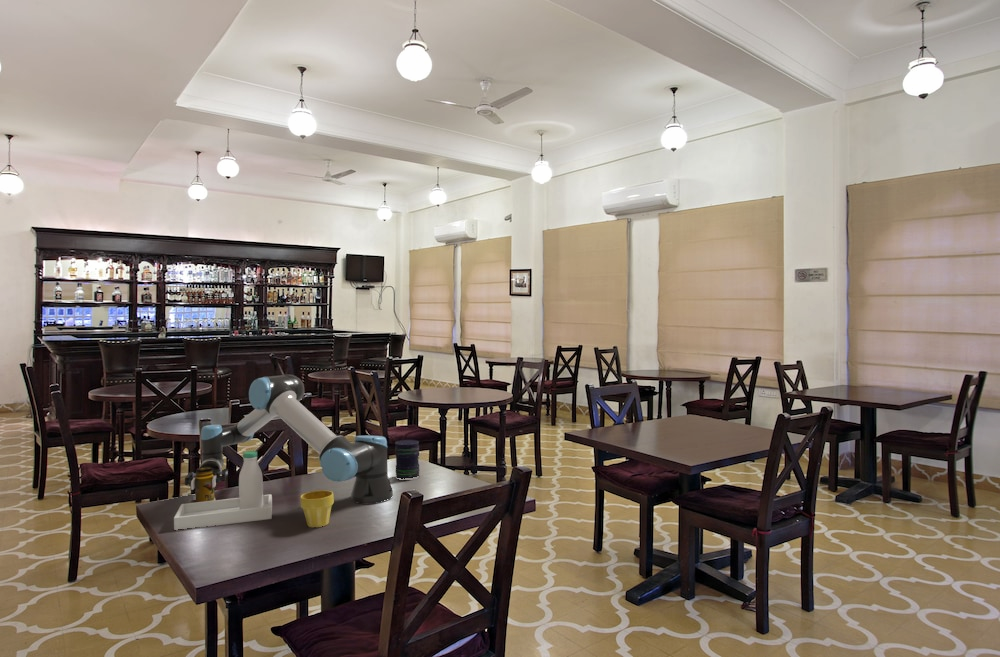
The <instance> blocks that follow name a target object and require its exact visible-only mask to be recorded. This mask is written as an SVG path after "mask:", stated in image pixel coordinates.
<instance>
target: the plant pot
mask: <svg viewBox="0 0 1000 657" xmlns="http://www.w3.org/2000/svg"><path fill="white" fill-rule="evenodd" d="M334 499H335V495H334V492H333V491H331V490H325V489H323V490H322V489H320V490H319V489H318V490H313V491H309V492H305V493H302V494H301V495H300V507H301V508H302V509H303V513H304V516H305V520H306V524H307V526H308V527H309V528H314V527H316V528H321V527H322V526H323V527H325V526H327V525H328V524H329V523H330V516H331V512H332V511H331V510H332V507H333V504H334V502H335V500H334Z"/></svg>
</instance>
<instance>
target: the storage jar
mask: <svg viewBox="0 0 1000 657" xmlns="http://www.w3.org/2000/svg"><path fill="white" fill-rule="evenodd" d="M419 443H420V442H419V440H416V439H402V440H397V441H395V444H394V445H395V447H394V448H395V449H394V451H395V453H394V454H395V463H396V464H395V476H396V477H397V478H401V479H403V478H404V479H405V478H413V477H417V476H419V477H420V464H419V454H420V452H419V451H420V445H419ZM396 477H395V478H396Z"/></svg>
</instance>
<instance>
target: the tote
mask: <svg viewBox="0 0 1000 657" xmlns="http://www.w3.org/2000/svg"><path fill="white" fill-rule="evenodd" d="M272 513H273V496H272V493H271V494H270V493H269V494H263V507H258V508H250V509H241V510H240V509H239V497H234V498H233V497H232V498H226V499H225V498H224V499H215V500H214V501H205V502H196V503H189V502H188V503H181V504H180V506H179V508H178V510H177V512H176V513H175V515H174V517H173V529H174V530H176V531H179V530H178V529H184V530H188V529H187V528H192V529H196V528H195V527H200V528H206V526H208V527H216V526H222V525H223V526H224V525H231V524H241V523H247V522H255V521H257V522H258V521H263V520H264V521H265V520H272V516H273V514H272ZM215 525H216V526H215Z"/></svg>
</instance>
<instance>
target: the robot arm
mask: <svg viewBox="0 0 1000 657" xmlns="http://www.w3.org/2000/svg"><path fill="white" fill-rule="evenodd" d="M304 395H305V385H304V383H303V381H302V380H301V379H300V378H299V377H297V375H294V374H282V375H272V376H263V377H258V378H255V380H253V381H252V382H251V384H250V387H249V390H248V400H249V403H250V405H251V406H252V408H253V410H252V411H250V413H248V414H247V415H246V416H245V417H243V418H242V419H241V420H239V422H237V423H236V424H234V425H232V426H227V427H222V425H221V424H209V425H208V424H207V425H203V427H202V428H201V432H200V433H201V434H200V441H201V442H200V443H201V465H200V466H199V468H201V467H212V472H213V473H212V474H213V475H214V477H213V479H212V488H213V487H214V488H215V487H216V485H217V484H220V483H221V481H222V482H226V480H227V476H229V475H228V474H229V473H228V472H229V471H228V470H229V469H228V468H223V467H224V462H225V461H224V458H223V456H224V455H223V447H224V448H225V447H228V446H232V445H237V444H243V443H246V442H249V441H251V440H252V439H253V438H254V435H255V433H256V432H257V431H259V430H260V429H261V428H263V427H264V426H265V425H267V424H268V423H269V422H271V420H273V419H275V418H276V417H279V418H280V419H281V420H282V421H283V422H284V423H285V424H287V426H288V427H290V428H291V429H292V431H294V432H295V433H296V434H297V435H298V436H299V437H300V438H301V439H303V440H304V442H306V444H308V445H309V446H310V447H311V448H312V449H313V450H314V451H315V452H317V454H318V461H319V465H320V468H321V472H322V474H323V475H324V476H325V478H327V479H328V480H331V481H332V482H335V483H337V482H338V483H339V482H345V481H350V480H351V479H353V478H355V480H354V482H353V486H352V489H351V493H350V499H351V501H352V502H353V501H354V502H353V503H356V502H358V503H357V504H362V503H372V504H377V503H376V502H379V503H382V502H381V501H384V500H387V499H389V498H391V497H392V496H393V497H394V495H393V494H394V493H393V492H394V491H393V487H392V485H391V482H390V478H389V476H388V474H389V473H388V441H387V438H386V437H385V436H381V435H356V436H355V437H354V439H353V440H354V441H353V442H351V441H350V440H348V439H347V438H346V437H345V436H344V435H336V434H335V433H334V432H333V431H332V430H330V428H329V427H327V426H326V425H325V424H324V423H323V422H322V421H321V420H319V418H317V416H315V415H314V414H313V413H312V412H311V411H310V410H308V409H307V407H306V406H304V405H303V404H302V403H301V402H300V401H301V400H302V399H303V397H304ZM195 477H196V472H195V473H194V472H192V471H189V472H187V475H186V476H185V477H184V485H185V486H189V487H190V490H192V491H193V490H194V489H195ZM393 497H392V498H393ZM392 498H391V499H392ZM389 500H390V499H389ZM387 501H388V500H387ZM384 502H385V501H384Z"/></svg>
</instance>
